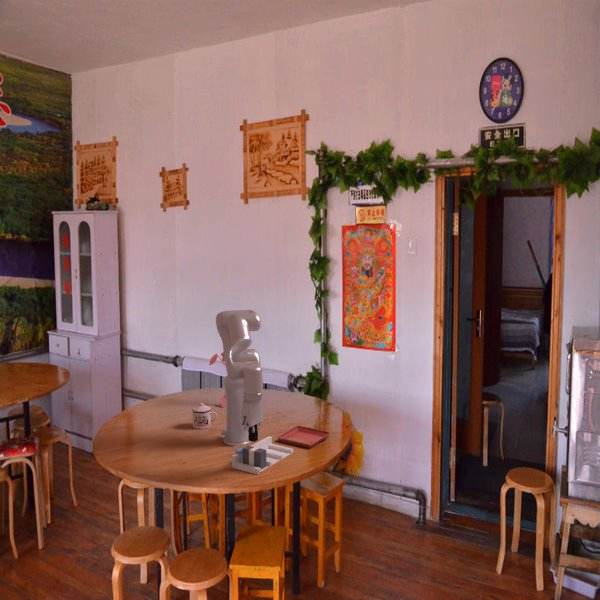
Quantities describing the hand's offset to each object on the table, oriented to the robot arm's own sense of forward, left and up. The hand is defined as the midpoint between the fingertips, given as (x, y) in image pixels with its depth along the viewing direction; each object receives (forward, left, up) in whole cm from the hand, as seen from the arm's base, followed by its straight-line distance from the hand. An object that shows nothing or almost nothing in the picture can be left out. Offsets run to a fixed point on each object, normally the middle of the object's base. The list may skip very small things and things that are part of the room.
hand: (253, 440), depth 240 cm
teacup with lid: (-49, +27, -11) cm, 57 cm away
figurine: (-55, +57, -11) cm, 80 cm away
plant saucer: (+2, +36, -12) cm, 38 cm away
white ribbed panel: (-1, +8, -11) cm, 14 cm away
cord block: (0, 0, -11) cm, 11 cm away
